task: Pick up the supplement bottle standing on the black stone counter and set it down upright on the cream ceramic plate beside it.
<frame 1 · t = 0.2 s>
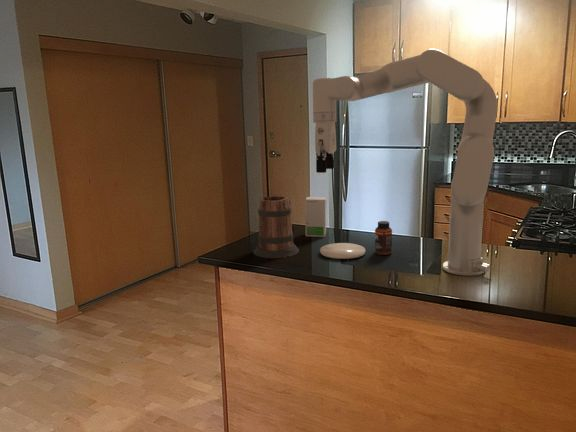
hand: (325, 170, 156), 31 cm above the counter, tool pointing down, fingers open, 9 cm apart
plate: (342, 253, 168), on the counter
supplement bottle: (383, 253, 168), on the counter
skincare box: (316, 235, 195), on the counter
tankard: (279, 249, 177), on the counter
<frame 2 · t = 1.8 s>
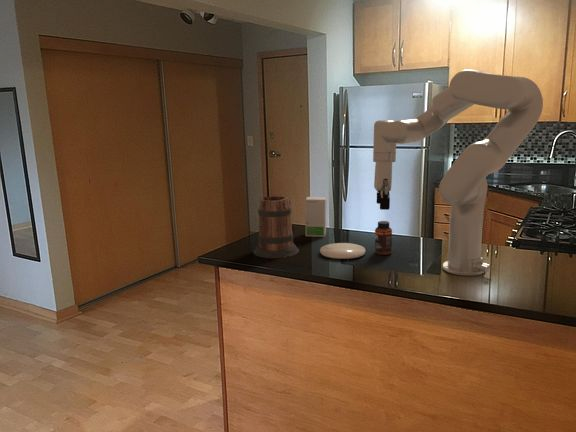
hand: (382, 206, 164), 17 cm above the counter, tool pointing down, fingers open, 9 cm apart
nothing on the counter moved.
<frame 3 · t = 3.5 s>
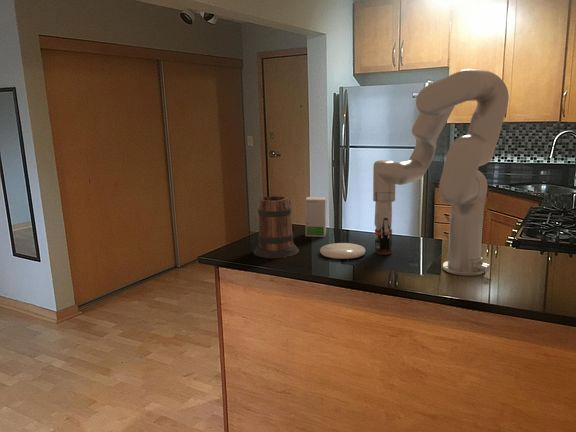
hand: (383, 245, 167), 3 cm above the counter, tool pointing down, fingers closed on supplement bottle, 6 cm apart
supplement bottle: (383, 253, 168), on the counter, touching gripper
everything else where it was.
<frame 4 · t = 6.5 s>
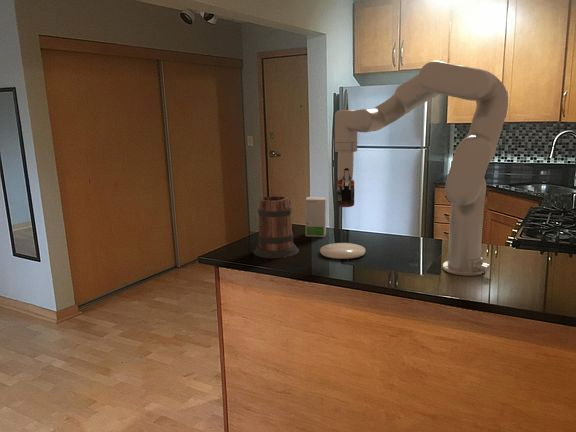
hand: (345, 198, 164), 20 cm above the counter, tool pointing down, fingers closed on supplement bottle, 6 cm apart
supplement bottle: (345, 206, 165), point 17 cm above the counter, touching gripper
everything else where it was.
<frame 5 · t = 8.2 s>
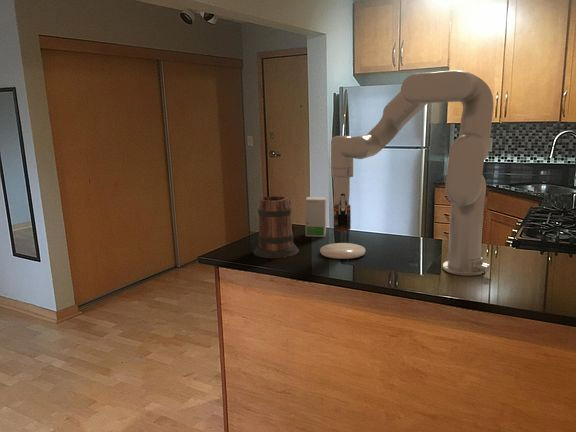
hand: (342, 222, 166), 11 cm above the counter, tool pointing down, fingers closed on supplement bottle, 6 cm apart
supplement bottle: (342, 230, 167), point 9 cm above the counter, touching gripper
everything else where it was.
when the fingers open (6 cm above the counter, at t = 9.7 s): supplement bottle drops 2 cm, resting on plate.
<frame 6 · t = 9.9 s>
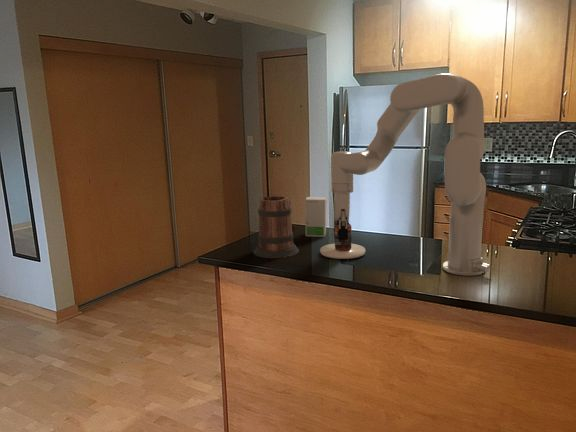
hand: (342, 236, 167), 6 cm above the counter, tool pointing down, fingers open, 7 cm apart
supplement bottle: (343, 249, 168), point 1 cm above the counter, touching plate
everything else where it was.
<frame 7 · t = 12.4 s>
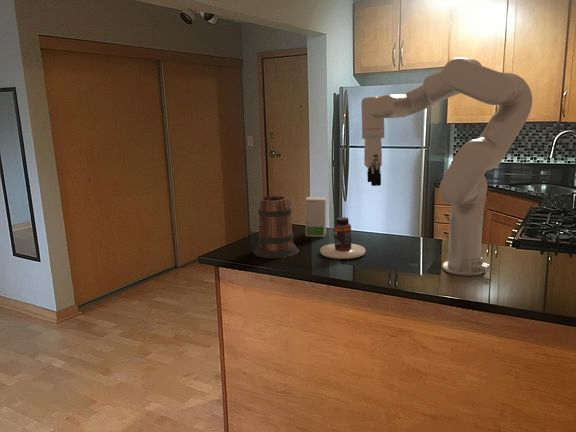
hand: (374, 183, 164), 25 cm above the counter, tool pointing down, fingers open, 9 cm apart
nothing on the counter moved.
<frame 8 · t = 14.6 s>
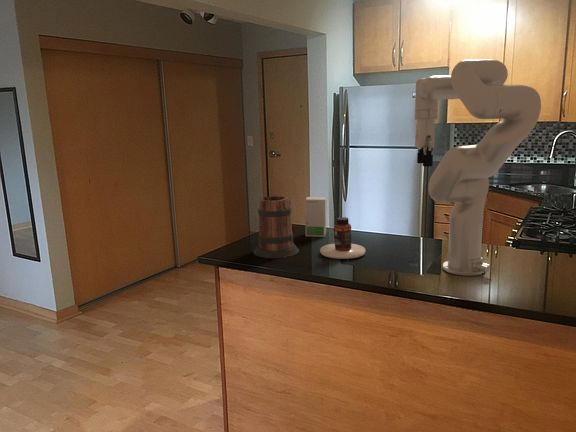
hand: (424, 164, 166), 30 cm above the counter, tool pointing down, fingers open, 9 cm apart
nothing on the counter moved.
at the end: supplement bottle inside the target area on the plate (0.2 cm from its centre), point 1.4 cm above the plate's base; supplement bottle tilted 0°; the gripper is holding nothing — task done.
